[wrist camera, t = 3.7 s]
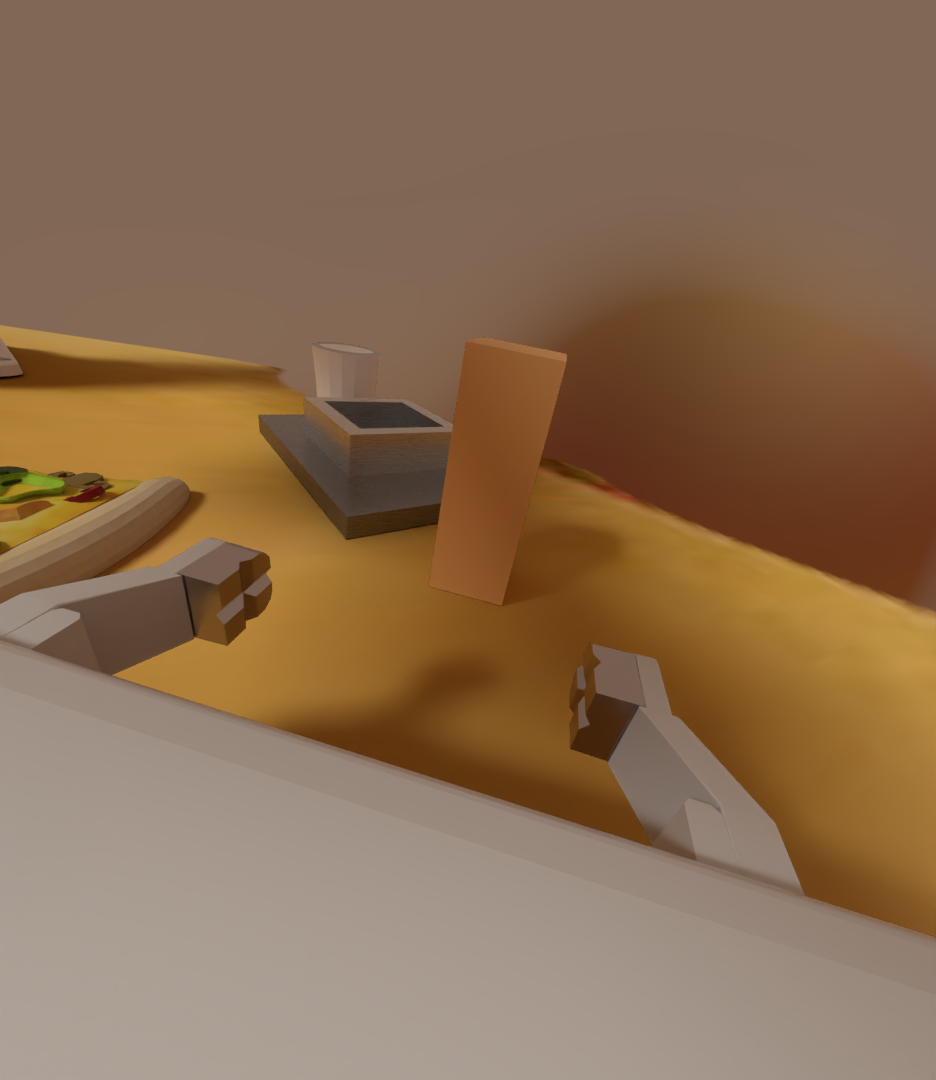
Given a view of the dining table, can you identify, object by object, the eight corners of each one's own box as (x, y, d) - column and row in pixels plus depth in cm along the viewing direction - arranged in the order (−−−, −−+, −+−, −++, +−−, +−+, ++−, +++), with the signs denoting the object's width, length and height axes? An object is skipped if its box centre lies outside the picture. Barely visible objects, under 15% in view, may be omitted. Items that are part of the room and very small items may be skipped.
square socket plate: (259, 431, 38) (255, 379, 36) (398, 428, 46) (402, 385, 44) (346, 539, 25) (348, 467, 23) (518, 508, 33) (532, 453, 31)
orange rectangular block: (428, 586, 22) (465, 341, 17) (447, 550, 26) (483, 337, 20) (501, 606, 22) (566, 361, 16) (510, 566, 26) (566, 354, 20)
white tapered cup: (320, 424, 43) (319, 350, 40) (306, 405, 48) (305, 338, 45) (384, 425, 46) (389, 357, 43) (366, 408, 51) (369, 345, 48)
